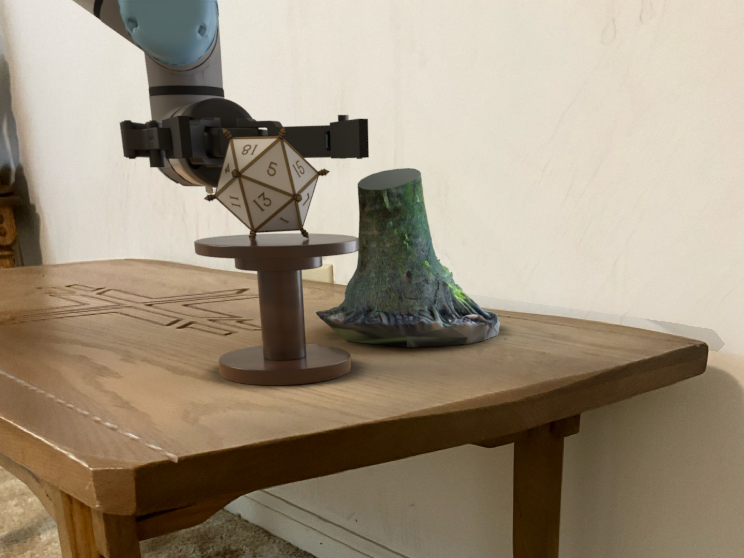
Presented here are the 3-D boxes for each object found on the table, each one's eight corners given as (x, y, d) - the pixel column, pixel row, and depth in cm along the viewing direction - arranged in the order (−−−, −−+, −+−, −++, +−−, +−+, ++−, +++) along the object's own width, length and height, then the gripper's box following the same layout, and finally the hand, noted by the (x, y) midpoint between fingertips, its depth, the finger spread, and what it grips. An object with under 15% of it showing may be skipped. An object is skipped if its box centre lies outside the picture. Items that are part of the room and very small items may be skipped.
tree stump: (537, 330, 91) (536, 150, 80) (441, 415, 78) (424, 216, 67) (396, 307, 100) (377, 143, 89) (288, 380, 87) (252, 200, 76)
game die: (250, 289, 68) (160, 182, 64) (295, 241, 73) (215, 140, 69) (324, 234, 62) (230, 113, 58) (367, 187, 68) (284, 73, 64)
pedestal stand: (185, 366, 74) (170, 238, 69) (318, 349, 80) (312, 231, 76) (244, 396, 64) (232, 249, 59) (391, 374, 70) (389, 240, 66)
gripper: (338, 185, 86) (429, 189, 69) (80, 189, 77) (110, 195, 59) (335, 103, 83) (430, 85, 66) (66, 96, 74) (93, 73, 56)
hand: (278, 137), depth 63 cm, fingers open, 13 cm apart
